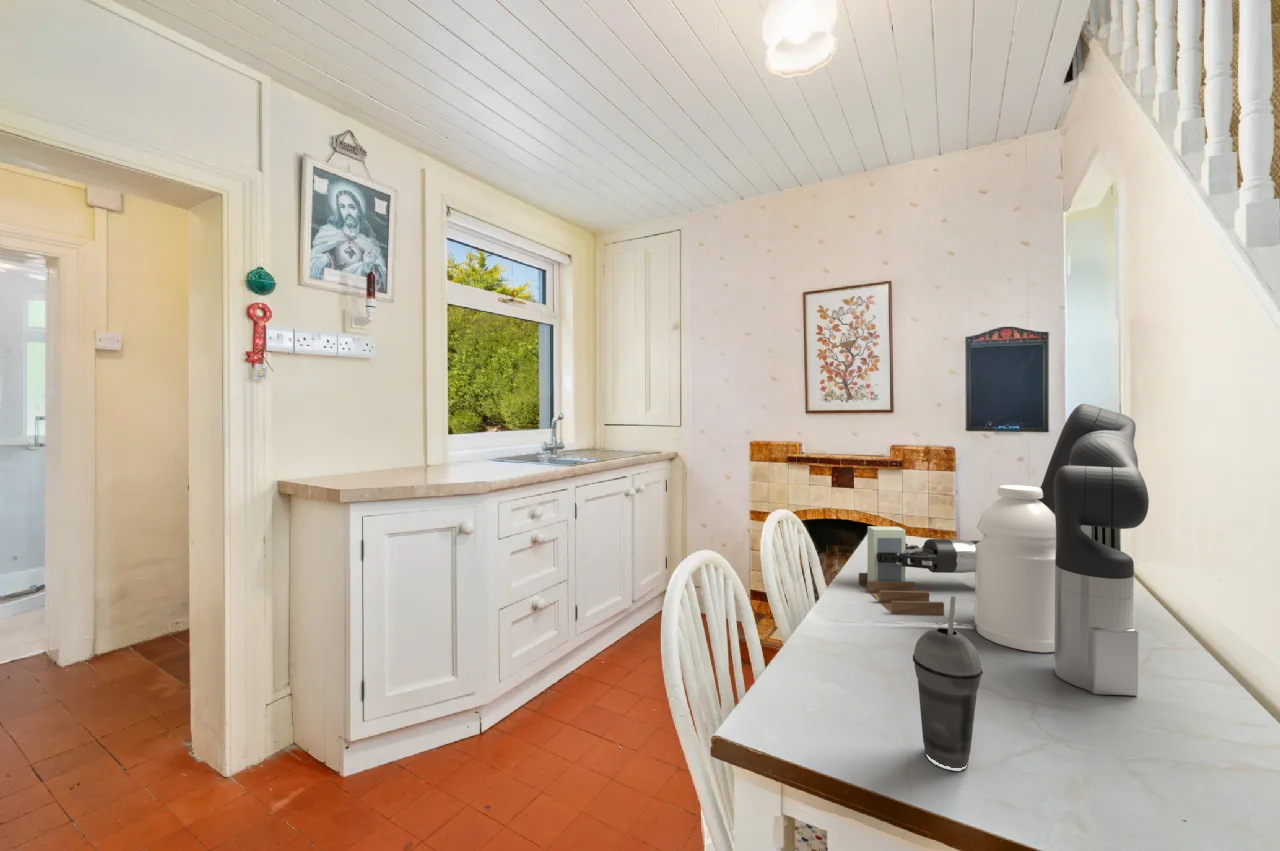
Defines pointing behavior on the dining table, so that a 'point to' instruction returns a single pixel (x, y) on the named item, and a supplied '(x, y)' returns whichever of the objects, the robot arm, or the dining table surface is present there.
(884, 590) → the stand
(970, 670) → the beverage cup
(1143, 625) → the dining table surface
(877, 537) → the beige box
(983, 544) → the bottle
